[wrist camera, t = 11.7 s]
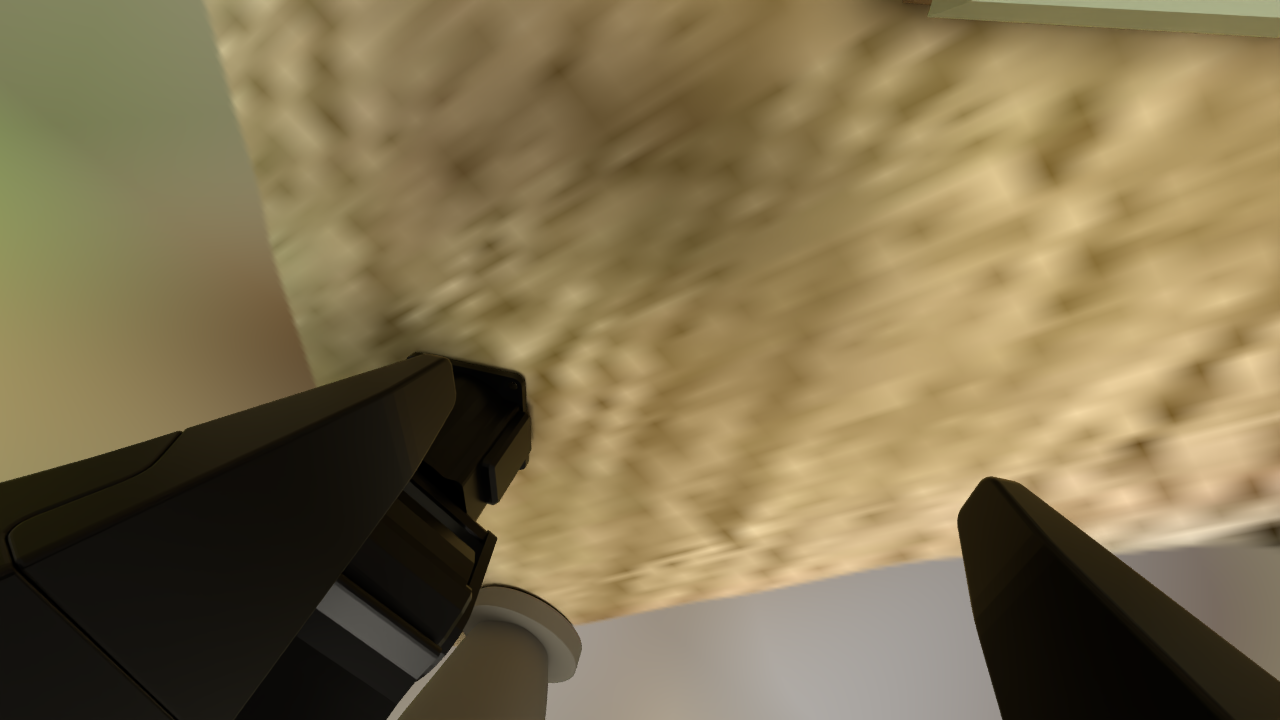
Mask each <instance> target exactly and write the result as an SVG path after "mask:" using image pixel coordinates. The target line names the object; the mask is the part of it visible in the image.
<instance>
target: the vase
mask: <svg viewBox="0 0 1280 720" xmlns="http://www.w3.org/2000/svg"><path fill="white" fill-rule="evenodd" d="M463 632H464V634H465V635H466V637H465V638H464V639H463V640H462V642H461V643H460V644H459V645H458V646H457V648H456V649H455V650H454V652H453V653H452V654H451V655H450V656H449V657H448V659H447V660H446V661H445V662H444V664H443V665H442V666H441V667H440V669H439V670H438V671H437V672H436V673H435V675H434V676H433V677H432V678H431V679H430V681H429V682H428V683H427V684H426V686H425V687H424V688H423V689H422V690H421V691H420V693H419V694H418V695H417V696H416V698H415V699H414V700H413V701H412V702H411V704H410V705H409V706H408V707H407V708H406V710H405V711H404V712H403V713H402V715H401V716H400V717H399V718H398V720H545V715H546V704H547V691H548V683H558V682H563V681H566V680H568V679H570V678H571V677H572V676H573V675H574V673H575V671H576V668H577V664H578V661H579V657H580V654H581V650H582V645H581V640H580V638H579V636H578V634H577V632H576V630H575V629H574V628H573V626H572V625H571V624H570V623H569V622H568V621H567V620H566V619H565V618H564V617H563V616H562V615H561V614H560V613H559V612H557V611H556V610H555V609H553V608H552V607H550V606H549V605H547V604H546V603H544V602H542V601H541V600H539V599H537V598H535V597H533V596H531V595H528V594H526V593H523V592H520V591H517V590H514V589H510V588H505V587H485V588H481V589H480V591H479V594H478V596H477V599H476V602H475V605H474V608H473V611H472V613H471V616H470V618H469V620H468V622H467V624H466V626H465V628H464V629H463Z"/></svg>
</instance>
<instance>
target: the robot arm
mask: <svg viewBox="0 0 1280 720" xmlns="http://www.w3.org/2000/svg"><path fill="white" fill-rule="evenodd" d="M512 382H514V383H516V384H517V386H516V385H514V384H513V383H512ZM530 451H531V428H530V416H529V414H528V412H527V409H526V387H525V380H524V379H523V377H521V376H520V375H518V374H515V373H511V372H506V371H502V370H497V369H492V368H488V367H483V366H479V365H474V364H469V363H465V362H460V361H456V360H451V359H448V358H446V357H442V356H438V355H433V354H423V353H419V352H415V353H413V354H411V355H410V356H409V357H408V358H407V359H406V360H403V361H400V362H397V363H394V364H391V365H387V366H384V367H381V368H378V369H375V370H372V371H368V372H365V373H362V374H359V375H356V376H352V377H349V378H346V379H343V380H340V381H336V382H333V383H330V384H327V385H324V386H320V387H317V388H314V389H311V390H308V391H305V392H301V393H298V394H295V395H292V396H289V397H286V398H283V399H279V400H276V401H273V402H270V403H266V404H263V405H260V406H257V407H254V408H250V409H247V410H244V411H241V412H238V413H235V414H231V415H228V416H225V417H222V418H218V419H215V420H212V421H209V422H206V423H202V424H199V425H196V426H193V427H190V428H187V429H185V430H184V431H183V432H182V431H176V432H174V433H170V434H167V435H164V436H161V437H157V438H154V439H151V440H148V441H145V442H141V443H138V444H135V445H131V446H128V447H125V448H121V449H118V450H115V451H112V452H108V453H105V454H102V455H98V456H95V457H92V458H88V459H84V460H81V461H78V462H74V463H70V464H67V465H63V466H59V467H56V468H52V469H49V470H45V471H41V472H38V473H34V474H31V475H27V476H23V477H20V478H16V479H13V480H9V481H5V482H1V483H0V720H386V719H387V718H388V716H389V715H390V714H391V712H392V711H393V710H394V708H395V707H396V705H397V704H398V703H399V701H400V700H401V699H402V698H403V696H404V695H405V694H406V693H407V691H408V690H409V689H410V688H411V686H412V685H413V684H414V682H416V681H418V680H419V679H421V678H422V677H424V676H425V675H426V674H427V673H429V672H430V671H431V670H432V669H433V668H434V667H435V666H436V665H437V664H438V663H439V662H440V661H441V660H442V658H443V657H444V656H445V655H446V654H447V652H448V651H449V650H450V649H451V647H452V646H453V645H454V643H455V642H456V640H457V639H458V637H459V636H460V634H461V633H462V631H463V629H464V628H465V626H466V624H467V622H468V620H469V618H470V616H471V613H472V611H473V608H474V605H475V602H476V599H477V596H478V594H479V591H480V588H481V585H482V582H483V579H484V576H485V573H486V570H487V567H488V564H489V562H490V559H491V556H492V553H493V550H494V547H495V544H496V541H497V537H496V536H495V535H494V534H493V533H491V532H490V531H489V530H488V531H486V530H485V529H484V528H483V527H481V526H480V525H479V524H478V523H477V522H476V520H477V519H478V517H479V516H480V514H481V513H482V511H483V509H484V508H485V506H486V505H487V504H491V505H495V504H496V503H498V502H499V501H500V499H501V498H502V496H503V495H504V493H505V491H506V490H507V488H508V487H509V485H510V483H511V482H512V480H513V479H514V477H515V475H516V474H517V472H518V470H522V469H524V468H525V467H526V466H527V464H528V462H529V453H530ZM957 525H958V532H959V538H960V543H961V549H962V555H963V561H964V566H965V572H966V578H967V584H968V590H969V596H970V602H971V607H972V612H973V616H974V621H975V624H976V629H977V632H978V636H979V640H980V643H981V647H982V650H983V654H984V657H985V661H986V664H987V668H988V671H989V675H990V678H991V682H992V685H993V688H994V692H995V695H996V699H997V702H998V706H999V709H1000V713H1001V717H1002V720H1280V681H1278V680H1277V679H1276V678H1275V677H1273V676H1272V675H1270V674H1269V673H1268V672H1267V671H1265V670H1264V669H1263V668H1261V667H1260V666H1259V665H1257V664H1256V663H1255V662H1253V661H1252V660H1251V659H1250V658H1248V657H1247V656H1246V655H1244V654H1243V653H1242V652H1240V651H1239V650H1238V649H1237V648H1235V647H1234V646H1233V645H1231V644H1230V643H1229V642H1227V641H1226V640H1225V639H1223V638H1222V637H1221V636H1219V635H1218V634H1217V633H1216V632H1214V631H1213V630H1211V629H1210V628H1209V627H1208V626H1206V625H1205V624H1204V623H1202V622H1201V621H1200V620H1199V619H1197V618H1196V617H1194V616H1193V615H1192V614H1191V613H1189V612H1188V611H1187V610H1185V609H1184V608H1183V607H1181V606H1180V605H1179V604H1177V603H1176V602H1175V601H1173V600H1172V599H1171V598H1170V597H1168V596H1167V595H1166V594H1164V593H1163V592H1162V591H1160V590H1159V589H1158V588H1157V587H1155V586H1154V585H1153V584H1151V583H1150V582H1149V581H1147V580H1146V579H1145V578H1143V577H1142V576H1141V575H1140V574H1138V573H1137V572H1135V571H1134V570H1133V569H1132V568H1130V567H1129V566H1128V565H1126V564H1125V563H1124V562H1122V561H1121V560H1120V559H1119V558H1117V557H1116V556H1115V555H1113V554H1112V553H1111V552H1109V551H1108V550H1107V549H1106V548H1104V547H1103V546H1102V545H1100V544H1099V543H1098V542H1096V541H1095V540H1094V539H1092V538H1091V537H1090V536H1088V535H1087V534H1086V533H1085V532H1083V531H1082V530H1081V529H1079V528H1078V527H1077V526H1075V525H1074V524H1073V523H1071V522H1070V521H1069V520H1068V519H1066V518H1065V517H1064V516H1062V515H1061V514H1060V513H1058V512H1057V511H1056V510H1054V509H1053V508H1052V507H1050V506H1049V505H1048V504H1047V503H1045V502H1044V501H1043V500H1041V499H1040V498H1039V497H1037V496H1036V495H1035V494H1033V493H1032V492H1031V491H1030V490H1028V489H1027V488H1026V487H1024V486H1023V485H1021V484H1020V483H1018V482H1015V481H1011V480H1006V479H1002V478H997V477H986V478H984V479H982V480H981V481H980V483H979V484H978V485H977V487H976V488H975V490H974V491H973V492H972V494H971V495H970V497H969V498H968V499H967V501H966V502H965V504H964V505H963V506H962V508H961V510H960V512H959V514H958V519H957Z"/></svg>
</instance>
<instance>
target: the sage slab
mask: <svg viewBox="0 0 1280 720" xmlns="http://www.w3.org/2000/svg"><path fill="white" fill-rule="evenodd" d="M927 17H932V18H949V19H966V20H983V21H999V22H1016V23H1033V24H1050V25H1067V26H1084V27H1100V28H1117V29H1134V30H1151V31H1168V32H1185V33H1201V34H1218V35H1235V36H1252V37H1269V38H1280V0H932V3H931V6H930V9H929V12H928V16H927Z"/></svg>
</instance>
